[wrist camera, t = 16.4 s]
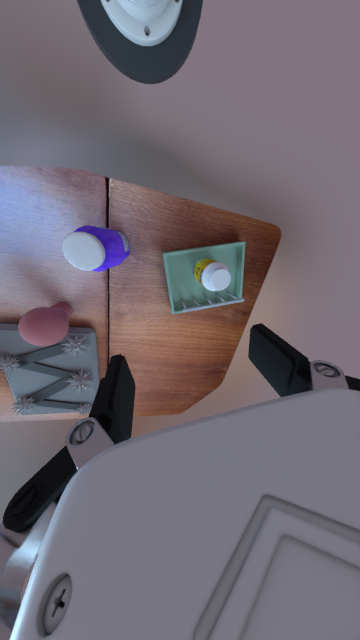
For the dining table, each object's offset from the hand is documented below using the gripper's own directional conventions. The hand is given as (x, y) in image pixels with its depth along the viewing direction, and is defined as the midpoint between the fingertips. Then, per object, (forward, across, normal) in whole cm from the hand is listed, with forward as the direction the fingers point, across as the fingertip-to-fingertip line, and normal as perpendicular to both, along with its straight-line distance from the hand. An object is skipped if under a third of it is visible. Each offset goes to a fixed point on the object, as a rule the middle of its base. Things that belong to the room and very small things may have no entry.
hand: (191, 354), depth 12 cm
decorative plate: (+29, +33, +21) cm, 49 cm away
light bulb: (+30, +23, +4) cm, 38 cm away
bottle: (+30, +9, -7) cm, 32 cm away
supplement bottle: (+29, -10, +1) cm, 30 cm away
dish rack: (+29, -10, +3) cm, 31 cm away
